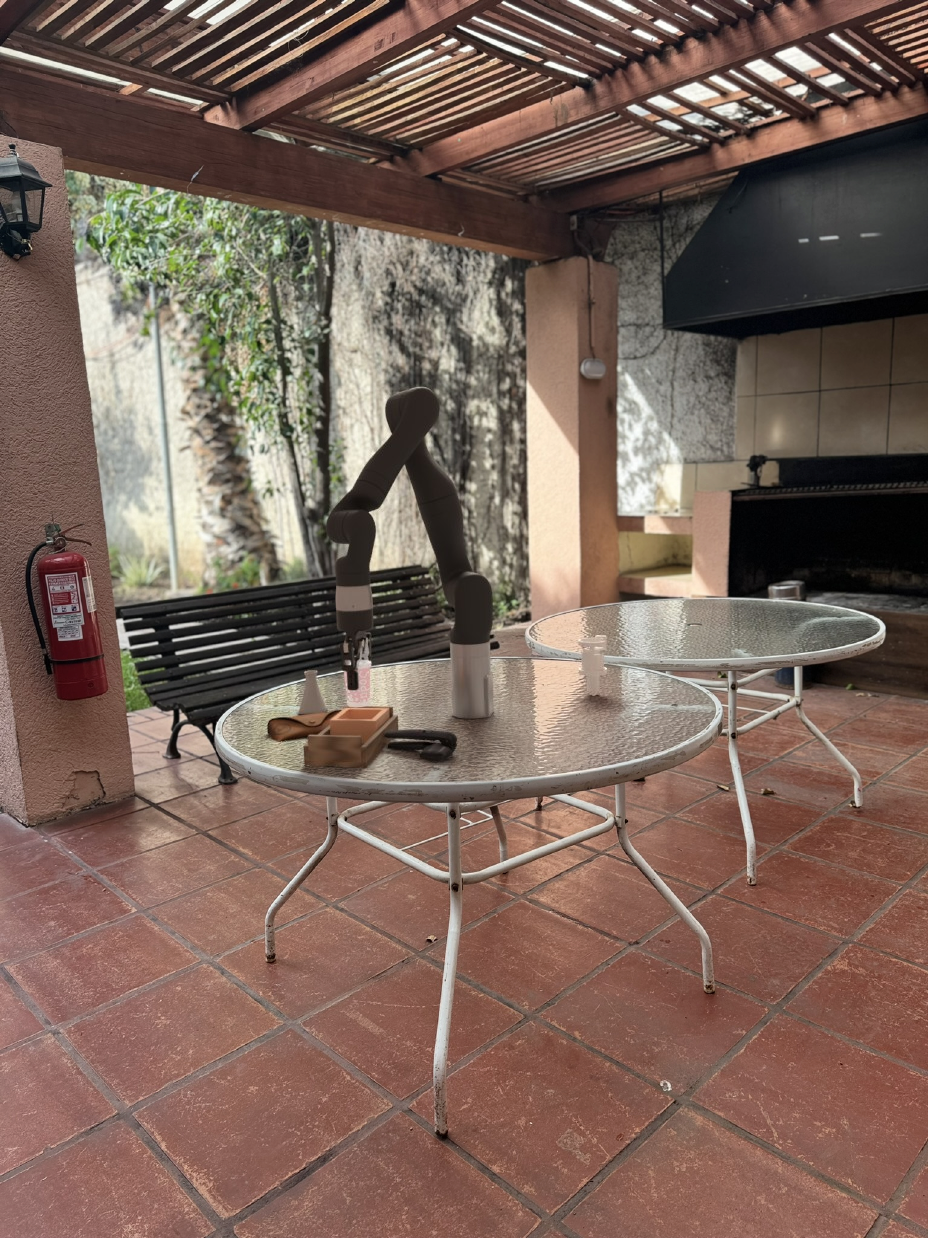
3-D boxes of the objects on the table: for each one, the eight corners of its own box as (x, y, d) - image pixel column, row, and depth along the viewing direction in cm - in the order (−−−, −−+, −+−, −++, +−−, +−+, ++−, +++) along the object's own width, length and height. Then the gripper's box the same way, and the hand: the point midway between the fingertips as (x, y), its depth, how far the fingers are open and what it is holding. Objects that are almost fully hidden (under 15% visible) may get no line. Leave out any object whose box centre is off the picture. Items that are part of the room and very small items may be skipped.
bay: (398, 733, 194) (397, 706, 193) (366, 767, 171) (365, 737, 170) (343, 732, 196) (342, 705, 195) (304, 766, 173) (302, 736, 172)
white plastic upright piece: (607, 698, 219) (606, 637, 217) (578, 697, 221) (577, 638, 218) (607, 691, 226) (607, 633, 224) (579, 691, 227) (578, 633, 225)
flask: (321, 716, 211) (319, 675, 210) (293, 715, 213) (290, 674, 211) (332, 708, 218) (330, 668, 217) (304, 708, 220) (302, 668, 218)
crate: (390, 730, 192) (389, 708, 192) (376, 743, 182) (375, 721, 182) (346, 729, 194) (345, 707, 193) (330, 742, 184) (329, 720, 183)
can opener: (466, 756, 177) (465, 729, 176) (444, 766, 171) (442, 737, 170) (398, 743, 187) (397, 717, 186) (376, 752, 182) (374, 725, 181)
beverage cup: (348, 709, 183) (345, 642, 181) (340, 703, 189) (337, 638, 187) (377, 705, 186) (374, 639, 184) (368, 699, 191) (365, 635, 189)
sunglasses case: (275, 742, 190) (270, 713, 192) (270, 752, 196) (265, 723, 198) (356, 730, 197) (350, 702, 199) (349, 740, 203) (343, 712, 205)
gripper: (361, 611, 177) (365, 694, 179) (381, 602, 191) (384, 679, 193) (325, 611, 178) (329, 694, 181) (348, 602, 192) (351, 679, 194)
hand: (358, 686), depth 187 cm, fingers closed on beverage cup, 6 cm apart
